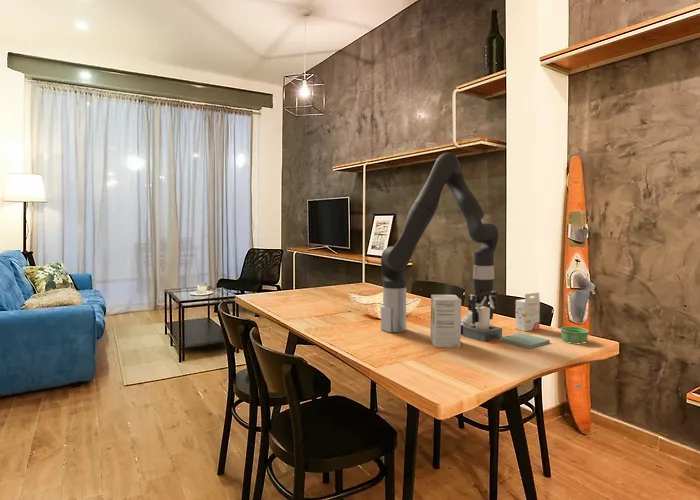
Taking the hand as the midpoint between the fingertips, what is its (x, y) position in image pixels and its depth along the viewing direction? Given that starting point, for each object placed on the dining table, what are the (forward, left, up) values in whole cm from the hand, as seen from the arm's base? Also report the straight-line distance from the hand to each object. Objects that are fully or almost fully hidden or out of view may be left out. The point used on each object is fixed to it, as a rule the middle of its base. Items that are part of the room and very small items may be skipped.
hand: (482, 320), depth 163 cm
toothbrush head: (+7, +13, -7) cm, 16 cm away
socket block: (0, 0, -6) cm, 6 cm away
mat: (+7, -13, -6) cm, 16 cm away
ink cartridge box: (+24, -3, -6) cm, 25 cm away
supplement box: (-18, +2, -6) cm, 19 cm away
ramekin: (+22, -23, -7) cm, 32 cm away
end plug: (0, 0, -6) cm, 6 cm away
